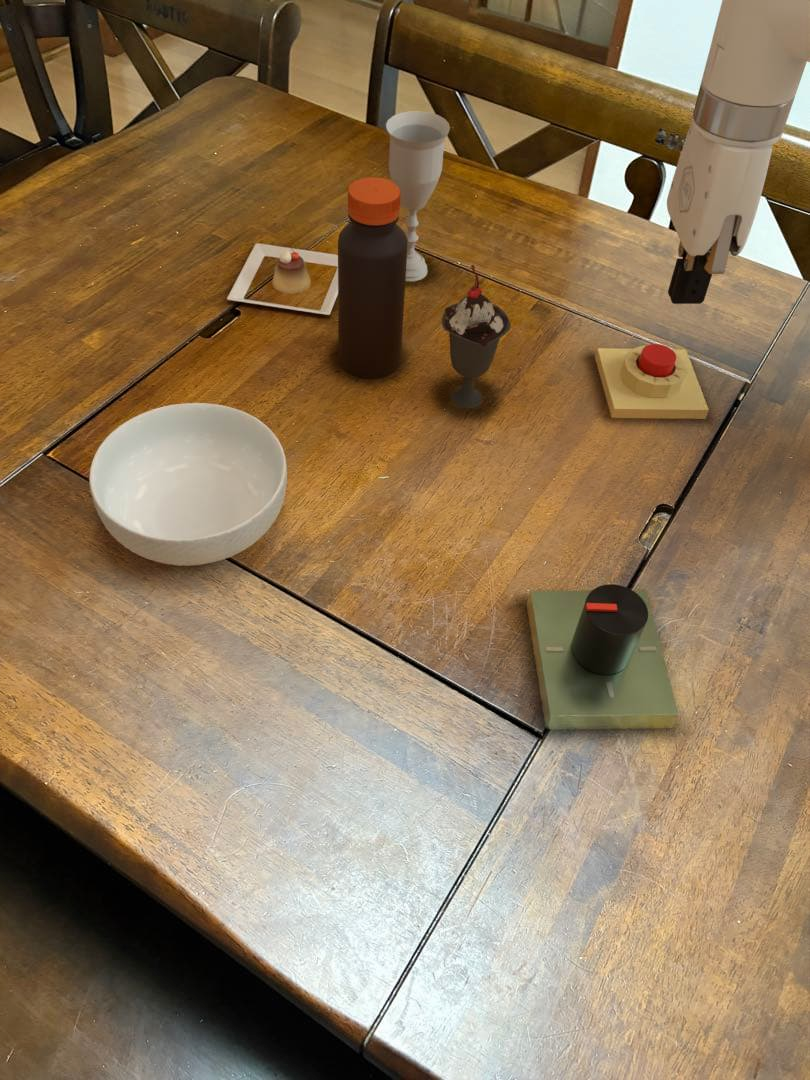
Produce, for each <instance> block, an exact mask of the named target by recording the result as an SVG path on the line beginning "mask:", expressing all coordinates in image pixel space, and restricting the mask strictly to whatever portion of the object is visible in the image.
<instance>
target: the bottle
mask: <svg viewBox="0 0 810 1080" xmlns="http://www.w3.org/2000/svg"><path fill="white" fill-rule="evenodd" d="M400 199H401V191H400V188H399V187H398V186H397V185H396V184H395V183H394V182H392V180H389V179H387V178H383V177H374V176H372V177H371V176H370V177H363V178H360V179H356V180H354V181H353V182H351V184H349V186H348V187H347V213H348V214H347V217H348V219H349V221H350V222H349V223H347V224H346V225H345V226H344V227H343V228H342V230H340V232H339V234H338V239H337V255H338V267H337V268H338V295H337V316H338V317H337V319H338V321H337V328H338V329H337V331H338V333H337V335H338V336H337V337H338V338H337V339H338V342H337V344H338V345H337V346H338V348H337V349H338V350H337V351H338V352H337V353H338V362H339V365H340V367H341V368H342V369H343V370H344V371H345V373H347V374H350V375H351V376H352V377H355V378H359V379H364V380H376V379H377V380H378V379H383V378H385V377H388V376H391V375H392V374H393V373H395V372H397V370H398V369H399V367H400V365H401V360H402V343H403V329H404V328H403V327H404V312H405V311H404V309H405V293H406V281H405V279H406V263H407V246H408V239H407V237H406V233H405V231H404V230H403V229H402V228H401V227H400V226H399V225H398V224H397V223H398V221H399V219H400V214H401V213H400V212H401V203H400Z"/></svg>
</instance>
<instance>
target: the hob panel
mask: <svg viewBox="0 0 810 1080" xmlns="http://www.w3.org/2000/svg"><path fill="white" fill-rule="evenodd" d="M591 591H592V590H529V594H528V598H527V601H526V612H527V615H528V616H527V617H528V624H529V630H530V631H529V632H530V636H531V643H532V650H533V655H534V662H535V668H536V669H535V670H536V675H537V681H538V688H539V694H540V695H539V696H540V700H541V707H542V713H543V714H542V715H543V720H544V726H545V730H614V729H615V730H621V729H623V730H625V729H626V730H628V729H630V730H631V729H632V730H633V729H673V726H674V724H675V723H676V721H677V719H678V718H679V710H678V706H677V703H676V699H675V694H674V691H673V688H672V684H671V680H670V676H669V673H668V669H667V665H666V662H665V658H664V654H663V649H662V645H661V642H660V638H659V634H658V631H657V627H656V622H655V619H654V615H653V611H652V608H651V603H650V600H649V597H648V592H647V590H643V589H642V590H633V591H634V592H635V593H637V594H638V595H639V596H640V597H641V598H642V599H643V601H644V602H645V604H646V606H647V609H648V620H647V623H646V625H645V628H644V630H643V632H642V634H641V637H640V639H639V641H638V643H637V646H636V648H635V650H634V653H633V655H632V657H631V659H630V662H629V664H628V665H627V666H626V667H625V668H624V669H623V670H622V671H620V672H618V673H615V674H609V675H604V674H598V673H594V672H592V671H590V670H588V669H586V668H585V667H583V666H582V665H581V664H580V663H579V662H578V661H577V659H576V658H575V656H574V654H573V651H572V639H573V636H574V633H575V630H576V627H577V624H578V622H579V619H580V616H581V613H582V610H583V607H584V604H585V601H586V598H587V596H588V595H589V593H590V592H591Z"/></svg>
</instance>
